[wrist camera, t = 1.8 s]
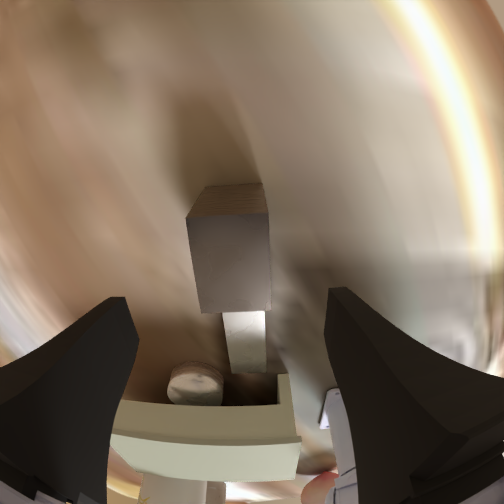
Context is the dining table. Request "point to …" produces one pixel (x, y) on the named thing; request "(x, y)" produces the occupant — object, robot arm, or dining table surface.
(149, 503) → the beige cylinder
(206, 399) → the token
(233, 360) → the dark grey long block
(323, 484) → the decorative fruit
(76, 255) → the dining table surface
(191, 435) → the pale green rectangular block
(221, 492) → the thermos bottle
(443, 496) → the robot arm
